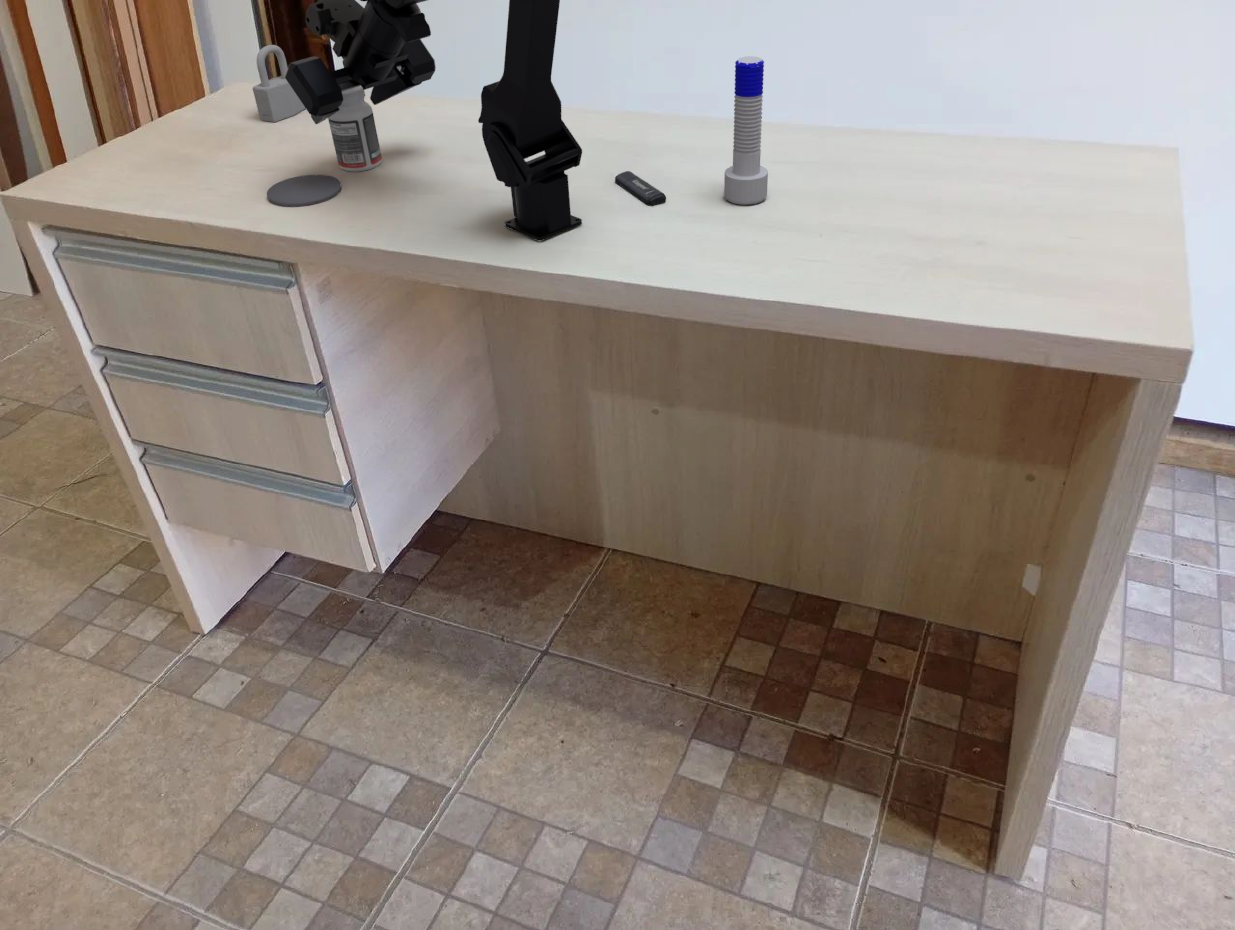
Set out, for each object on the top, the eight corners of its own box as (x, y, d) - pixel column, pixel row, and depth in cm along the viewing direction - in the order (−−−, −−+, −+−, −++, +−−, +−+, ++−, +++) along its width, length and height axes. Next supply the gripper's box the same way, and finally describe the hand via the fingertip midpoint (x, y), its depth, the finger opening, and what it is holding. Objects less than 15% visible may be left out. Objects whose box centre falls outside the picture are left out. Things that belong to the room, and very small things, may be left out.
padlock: (290, 106, 158) (274, 38, 152) (310, 109, 156) (294, 40, 150) (257, 120, 153) (239, 50, 147) (277, 123, 151) (260, 53, 145)
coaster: (355, 190, 128) (354, 186, 127) (290, 212, 123) (289, 208, 123) (318, 173, 133) (317, 169, 133) (255, 194, 128) (253, 189, 128)
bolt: (770, 191, 122) (761, 207, 118) (729, 188, 123) (719, 204, 119) (777, 54, 112) (767, 67, 108) (732, 52, 114) (721, 65, 110)
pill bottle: (368, 154, 138) (354, 78, 133) (390, 164, 135) (376, 87, 129) (330, 165, 136) (314, 89, 130) (352, 176, 132) (336, 98, 126)
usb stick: (613, 184, 127) (612, 172, 126) (632, 180, 128) (631, 168, 127) (649, 210, 120) (648, 197, 119) (668, 205, 121) (668, 193, 120)
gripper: (405, -41, 124) (367, 41, 137) (274, -10, 114) (245, 76, 126) (457, 36, 125) (414, 111, 137) (331, 74, 114) (296, 152, 127)
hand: (344, 111), depth 132 cm, fingers open, 9 cm apart
